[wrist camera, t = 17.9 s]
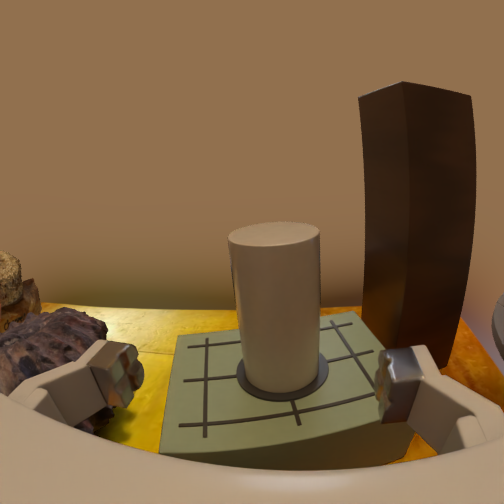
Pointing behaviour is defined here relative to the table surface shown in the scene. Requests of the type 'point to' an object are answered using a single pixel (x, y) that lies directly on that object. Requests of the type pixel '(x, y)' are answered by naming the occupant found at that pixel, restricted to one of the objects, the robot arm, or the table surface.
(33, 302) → the stone
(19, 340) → the seashell
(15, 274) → the coral
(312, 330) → the beige tapered cylinder
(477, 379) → the table surface
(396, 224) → the pedestal
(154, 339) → the table surface
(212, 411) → the game board
